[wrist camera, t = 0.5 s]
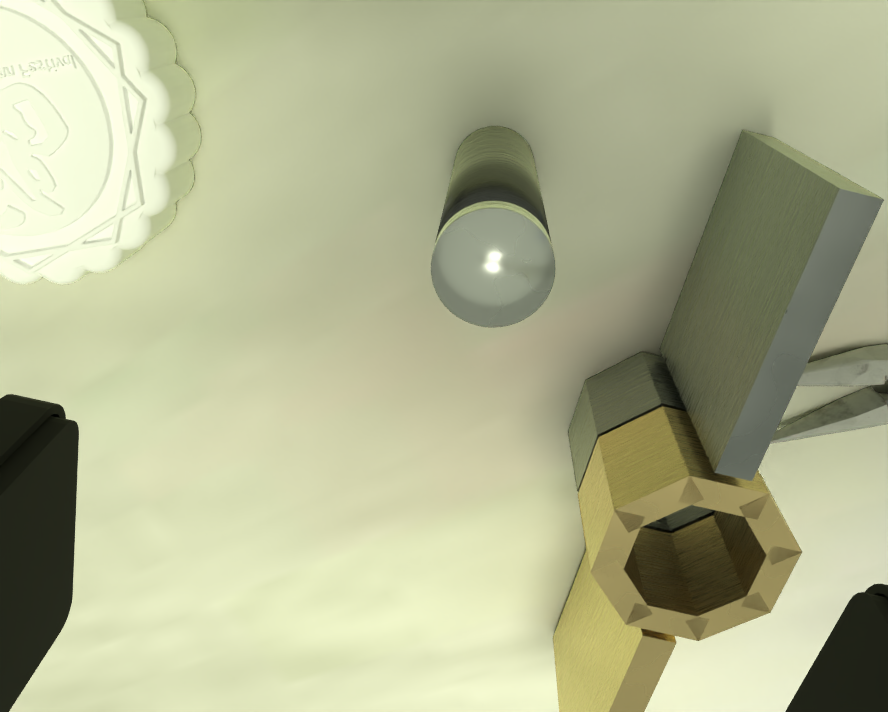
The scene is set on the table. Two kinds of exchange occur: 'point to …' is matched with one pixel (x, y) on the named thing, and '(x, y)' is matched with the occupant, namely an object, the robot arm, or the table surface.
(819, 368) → the pliers
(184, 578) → the table surface
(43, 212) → the mooncake
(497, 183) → the hinge pin
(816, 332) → the hinge base
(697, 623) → the hinge leaf
